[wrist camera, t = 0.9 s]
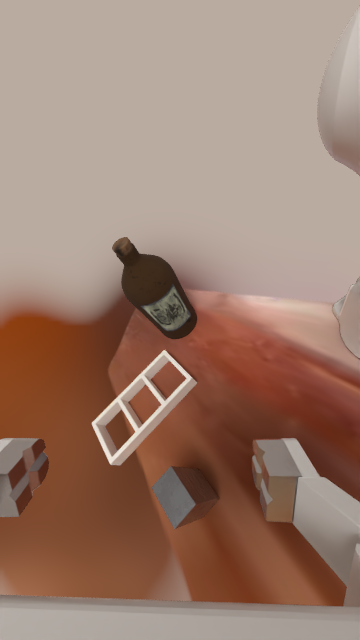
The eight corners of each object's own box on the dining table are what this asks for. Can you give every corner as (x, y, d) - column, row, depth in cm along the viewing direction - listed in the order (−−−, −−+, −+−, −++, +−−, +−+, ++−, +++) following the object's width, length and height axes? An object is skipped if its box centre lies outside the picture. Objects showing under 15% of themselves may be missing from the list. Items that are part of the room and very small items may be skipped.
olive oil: (154, 320, 60) (88, 247, 41) (187, 298, 60) (137, 213, 41) (169, 350, 53) (99, 278, 34) (207, 324, 53) (157, 238, 34)
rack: (169, 354, 53) (163, 348, 50) (197, 382, 46) (192, 377, 44) (100, 424, 50) (90, 422, 47) (120, 465, 43) (110, 464, 41)
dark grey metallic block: (198, 468, 38) (170, 466, 30) (219, 498, 35) (195, 504, 27) (183, 485, 38) (151, 487, 29) (203, 516, 34) (174, 529, 26)
